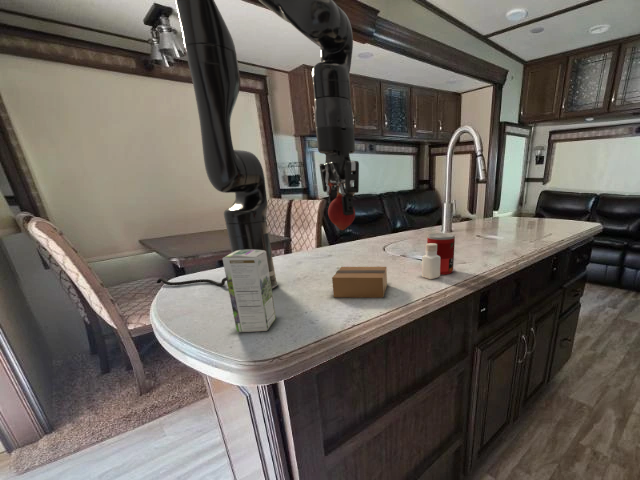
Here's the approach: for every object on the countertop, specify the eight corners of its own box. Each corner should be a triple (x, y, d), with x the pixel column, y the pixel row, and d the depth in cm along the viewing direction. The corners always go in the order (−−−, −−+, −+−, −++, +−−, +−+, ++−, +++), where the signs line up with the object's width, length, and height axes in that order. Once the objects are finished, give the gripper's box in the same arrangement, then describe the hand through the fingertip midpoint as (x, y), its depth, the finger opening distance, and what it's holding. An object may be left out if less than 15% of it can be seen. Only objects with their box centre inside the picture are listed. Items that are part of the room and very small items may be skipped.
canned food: (454, 274, 92) (456, 237, 88) (427, 275, 93) (428, 237, 89) (451, 268, 100) (452, 232, 96) (426, 268, 100) (426, 233, 96)
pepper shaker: (420, 277, 91) (421, 244, 87) (430, 274, 93) (431, 242, 90) (430, 280, 88) (431, 246, 85) (440, 277, 90) (441, 244, 87)
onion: (358, 228, 73) (356, 191, 70) (352, 232, 67) (349, 192, 65) (334, 228, 74) (331, 192, 71) (326, 232, 68) (322, 193, 65)
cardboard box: (333, 297, 76) (331, 277, 74) (342, 284, 85) (341, 266, 84) (383, 297, 75) (382, 277, 74) (387, 284, 85) (386, 266, 83)
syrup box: (247, 320, 64) (233, 249, 59) (277, 319, 65) (266, 248, 59) (236, 333, 59) (219, 256, 54) (269, 331, 59) (255, 255, 54)
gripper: (303, 130, 67) (312, 212, 73) (332, 120, 56) (340, 217, 62) (336, 132, 71) (342, 210, 77) (369, 123, 60) (373, 214, 66)
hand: (341, 213), depth 69 cm, fingers closed on onion, 6 cm apart
